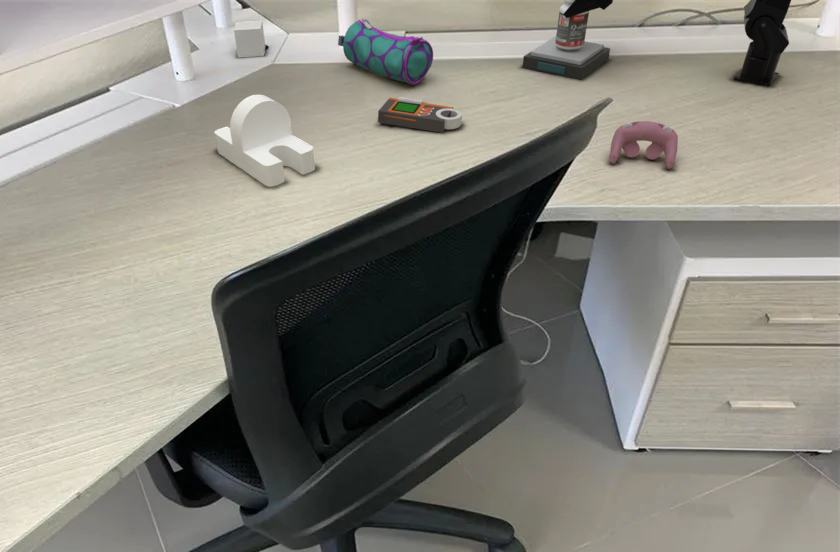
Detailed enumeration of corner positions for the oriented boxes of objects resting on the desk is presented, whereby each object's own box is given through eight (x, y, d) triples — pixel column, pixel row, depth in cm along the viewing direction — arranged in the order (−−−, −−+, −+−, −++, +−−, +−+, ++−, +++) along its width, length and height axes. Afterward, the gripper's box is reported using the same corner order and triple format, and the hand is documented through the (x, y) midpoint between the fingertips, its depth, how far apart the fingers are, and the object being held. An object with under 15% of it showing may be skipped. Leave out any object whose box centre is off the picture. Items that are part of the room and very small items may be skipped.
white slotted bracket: (269, 188, 113) (260, 124, 106) (215, 151, 125) (204, 91, 118) (317, 169, 117) (312, 106, 110) (261, 134, 129) (253, 76, 122)
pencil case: (338, 67, 153) (336, 21, 146) (369, 56, 157) (368, 11, 150) (404, 92, 140) (404, 43, 134) (436, 80, 144) (437, 31, 138)
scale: (551, 49, 154) (553, 34, 152) (608, 59, 147) (611, 44, 145) (521, 68, 146) (523, 52, 144) (580, 80, 140) (582, 64, 137)
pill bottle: (571, 52, 141) (579, -1, 135) (549, 46, 145) (555, -6, 138) (589, 45, 144) (597, -7, 137) (567, 39, 147) (574, -12, 141)
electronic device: (457, 121, 123) (376, 108, 127) (455, 137, 125) (376, 123, 129) (466, 106, 127) (388, 94, 132) (465, 121, 129) (388, 109, 134)
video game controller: (671, 169, 113) (680, 124, 112) (674, 169, 109) (684, 123, 107) (606, 163, 116) (615, 119, 114) (607, 163, 112) (616, 117, 110)
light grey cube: (265, 47, 165) (262, 20, 162) (263, 55, 161) (260, 28, 157) (240, 48, 166) (236, 21, 162) (237, 57, 161) (233, 30, 157)
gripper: (615, -95, 134) (548, -33, 145) (604, -74, 122) (533, -7, 132) (650, -48, 137) (582, 9, 148) (643, -23, 124) (570, 38, 135)
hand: (567, 11), depth 140 cm, fingers closed on pill bottle, 6 cm apart
